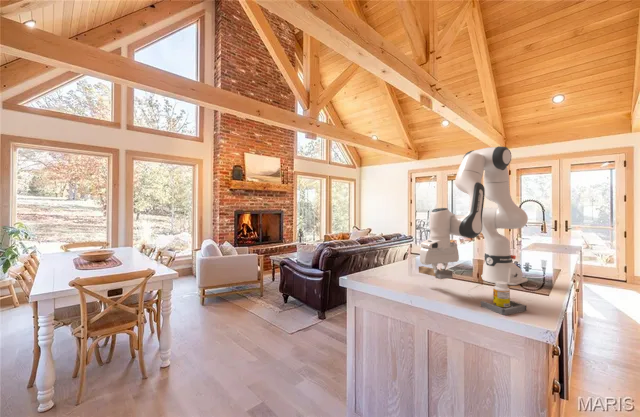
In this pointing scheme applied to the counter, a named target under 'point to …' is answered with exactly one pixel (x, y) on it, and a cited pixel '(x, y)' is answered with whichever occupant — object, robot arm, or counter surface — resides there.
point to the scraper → (436, 272)
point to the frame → (514, 309)
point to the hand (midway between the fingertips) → (439, 272)
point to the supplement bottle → (501, 295)
